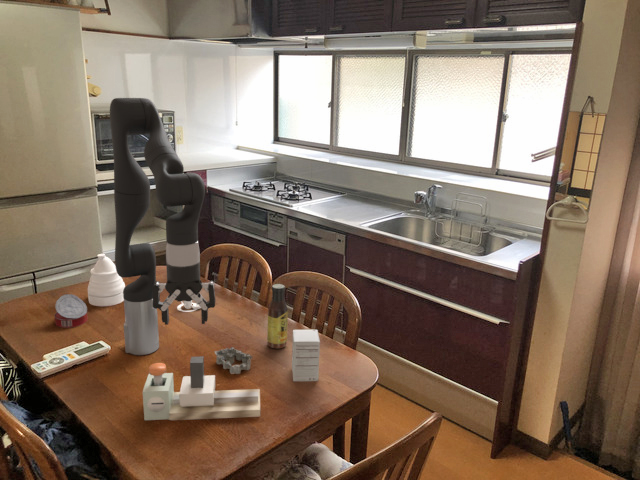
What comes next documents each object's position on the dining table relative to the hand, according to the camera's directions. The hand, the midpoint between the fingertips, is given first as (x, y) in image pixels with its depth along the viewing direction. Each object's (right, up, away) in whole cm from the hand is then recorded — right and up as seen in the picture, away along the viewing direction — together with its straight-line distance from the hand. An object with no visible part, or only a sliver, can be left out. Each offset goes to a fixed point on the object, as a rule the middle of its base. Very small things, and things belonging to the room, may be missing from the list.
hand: (185, 322), depth 125 cm
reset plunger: (-8, -17, +4) cm, 19 cm away
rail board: (+6, -23, +8) cm, 25 cm away
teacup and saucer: (-14, -6, +61) cm, 63 cm away
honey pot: (-47, -2, +68) cm, 82 cm away
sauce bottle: (+19, -13, +40) cm, 46 cm away
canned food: (-51, -8, +50) cm, 72 cm away
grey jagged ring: (+7, -17, +28) cm, 33 cm away
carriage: (+2, -21, +6) cm, 21 cm away
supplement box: (+28, -19, +24) cm, 41 cm away
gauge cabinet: (-8, -23, +6) cm, 25 cm away
